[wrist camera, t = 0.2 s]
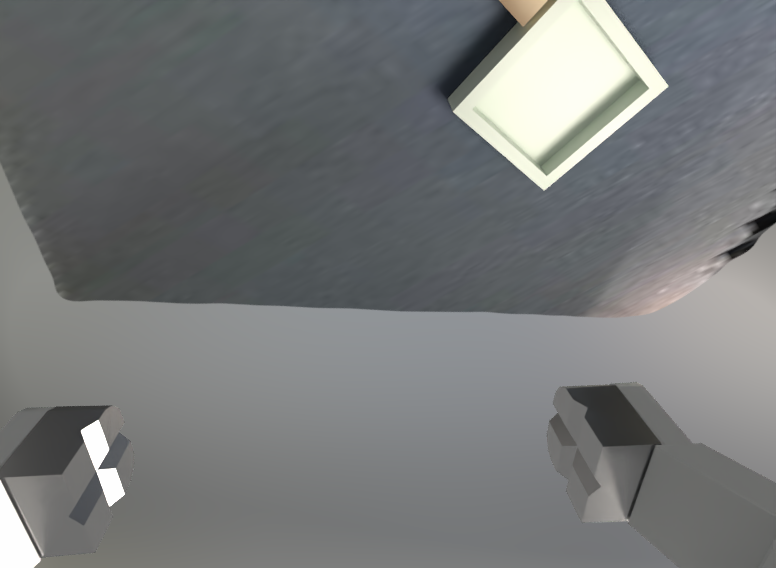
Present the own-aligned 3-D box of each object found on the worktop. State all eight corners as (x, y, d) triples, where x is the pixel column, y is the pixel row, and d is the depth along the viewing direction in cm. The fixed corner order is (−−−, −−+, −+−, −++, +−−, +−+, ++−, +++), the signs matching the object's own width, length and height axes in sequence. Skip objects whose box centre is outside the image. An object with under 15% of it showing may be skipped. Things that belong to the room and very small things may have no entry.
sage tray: (571, -37, 49) (584, -29, 47) (654, 74, 58) (668, 86, 56) (447, 98, 58) (452, 111, 56) (536, 176, 67) (544, 190, 65)
